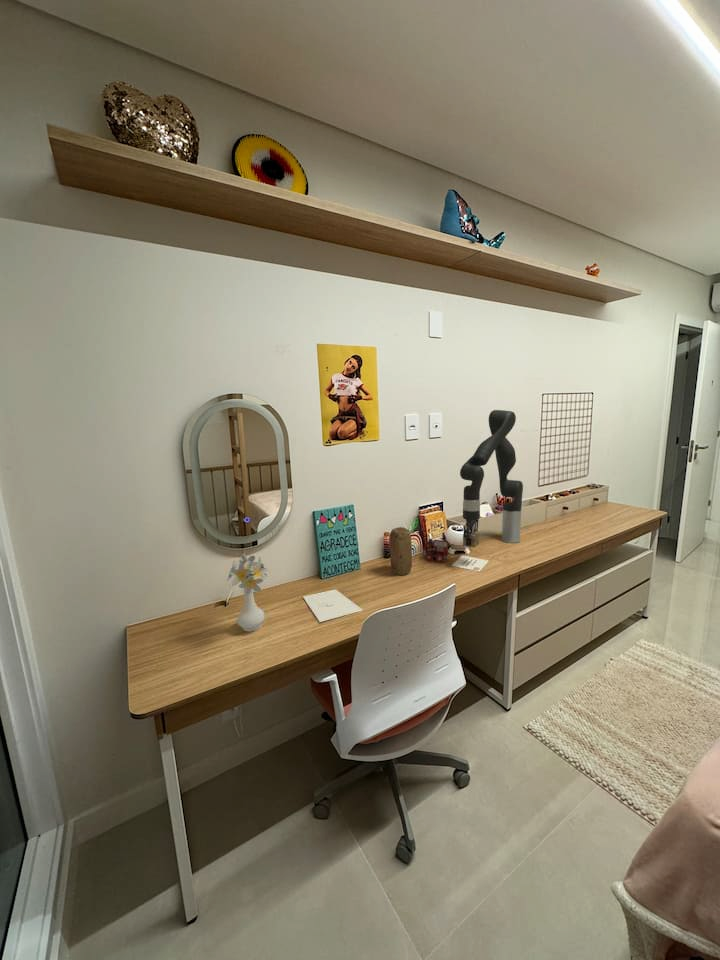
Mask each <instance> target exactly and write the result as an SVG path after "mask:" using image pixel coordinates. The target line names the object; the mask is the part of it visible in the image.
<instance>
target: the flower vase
mask: <svg viewBox="0 0 720 960" xmlns="http://www.w3.org/2000/svg"><path fill="white" fill-rule="evenodd" d="M240 557H241V560H238V562H239V563H236V559H235V558H234V559H233V563H232V567H231V568H230V570H229V574H228V578H227V580H226V582H227V581H228V580H229V579H231V578H232V577H234V578H233V580H232V581H231V586H232V587H233V586H236V585H237V584H239V583H240V582H241V583H240V584H239V585H238V587H239V589H243V596H244V597H243V598H244V599H243V600H244V604H243V608H242V610H241V611H240V612H239V613H238V615H237V619H236V623H237V625H238V626H239V627H241V628H242V630H244V632H248V633H249V632H255V631H257V630H259V629H260V628H261V627H262V624H263V623H264V621H265V618H266V615H265V612H264V610H263V609H262V608H260V607H259V606H258V605H257V603H256V599H255V597H254V592H255V593H256V592H257V593H259V592H261V591H262V588H261V587H260V585H258V584H261V583H266V582H267V580H266V577H268V575H267V573H268V572H269V571H268V568H266V567H265V565H264V563H262V560H261V556H260V555H259V556H258V557H259V558H258V560H257V561H255V559H256V556H255V555H250V556H249V557H247V556H246V555H245V554H243V553H241V554H240ZM264 575H265V576H264Z"/></svg>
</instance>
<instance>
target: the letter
mask: <svg viewBox="0 0 720 960" xmlns="http://www.w3.org/2000/svg"><path fill="white" fill-rule="evenodd" d="M488 563H489V560H487V559H482V558H479V557H478V558H477V557H473V556H472V557H471V556H468V555H461V556H460V557H459V558H458V559H456V560H455V562H453V563H452V564H451V566H452V567H454V568H460V569H465V570H468V571H475V572H478V573H479V572H481V571H482V570H483V568H484V567H485V566H486V565H487V564H488Z"/></svg>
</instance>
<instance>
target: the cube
mask: <svg viewBox="0 0 720 960" xmlns="http://www.w3.org/2000/svg"><path fill="white" fill-rule="evenodd" d="M467 535H468V534H467ZM479 541H480V533H479V532H478V531H477V532H473V533H472V536H471V546H467V545H466V538H465V537H464V533H463V534H462V546H464V547H469V548H476V547H478V546H479V544H480V542H479Z"/></svg>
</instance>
